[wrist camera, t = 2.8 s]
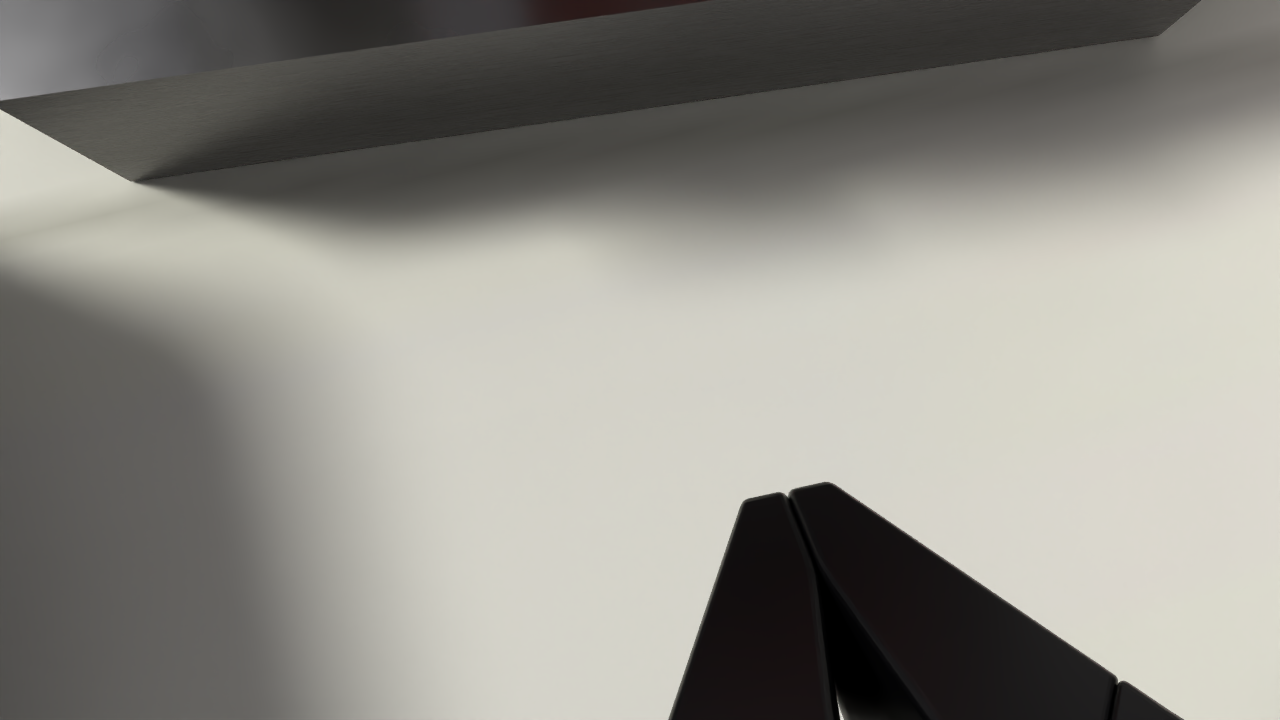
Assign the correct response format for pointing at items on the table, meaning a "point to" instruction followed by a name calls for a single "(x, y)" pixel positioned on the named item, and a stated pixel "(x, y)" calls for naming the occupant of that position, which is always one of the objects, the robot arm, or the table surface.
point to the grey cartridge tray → (466, 63)
